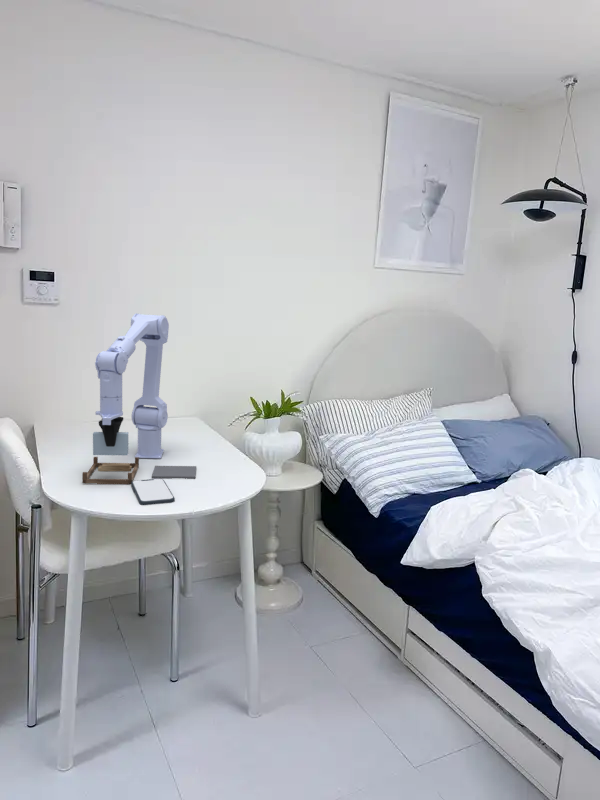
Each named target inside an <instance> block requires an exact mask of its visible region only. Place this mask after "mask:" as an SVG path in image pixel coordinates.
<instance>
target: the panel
mask: <svg viewBox="0 0 600 800" xmlns="http://www.w3.org/2000/svg"><path fill="white" fill-rule="evenodd" d="M128 455H129V432H128V431H125V432H123V431H119V432H117V436H116V443H115V446H114V447H107V446H106V443H105V439H104V435H103V432H102V431H94V432H93V433H92V456H128Z"/></svg>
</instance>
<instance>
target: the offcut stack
mask: <svg viewBox="0 0 600 800" xmlns="http://www.w3.org/2000/svg"><path fill="white" fill-rule="evenodd" d="M102 463H103V464H102V466H99V467H98V468H97V471H98V472H132V470H133V468H132V466H130V463H131V462H102Z"/></svg>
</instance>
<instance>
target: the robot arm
mask: <svg viewBox="0 0 600 800" xmlns="http://www.w3.org/2000/svg"><path fill="white" fill-rule="evenodd" d="M169 328H170V325H169V320H168V318H167V317H166V316H165V315H164V314H160V315H158V314H157V315H156V314H142V313H134V314H133V315H132V317H131V319H130V327H129V329H128V330H127V332H126V333H125V335H119V336H118V337H117V338H116V339H115V340H114V341H113V343H112V344H111V345H110V346H108V349H107V350H102V351H101V352H98V353H97V355H96V357H95V362H94V365H95V366H94V367H95V370H96V371H97V378H98V379H99V410H96V411H95V415H96V416H100V418H101V419H100V420H98V426H99V427H100V429H101V432H103V435H104V439H105V443H106V446H107V447H114V446H115V443H116V436H117V432H120V428H121V425H122V423H123V421H124V417H122V416H123V415H124V412H123V374H124V373H125V371H126V369H127V364H128V363H129V358H130V357H131V356H132V355H133V354H134V353H135V351H136V344H137V343H138V342H139V341H141V342H142V343H144V345H145V358H144V368H143V369H144V370H143V383H142V393H141V394H142V395H141V397H139V398H138V399H136V400H135V401H134V403H133V409H132V411H131V421H132V424H133V425H134V426H135V429H137V451H136V453H135V455H134V458H135V457H139V459H162V457H163V453H164V451H165V450H164V448H162V429H163V428H165V426H166V425H167V423H168V418H169V417H168V416H169V415H168V406H167V405H168V404H167V403H166V402H165V401H164V400H163V399H162V398H161V397H160V387H161V385H160V384H161V373H162V371H161V370H162V360H163V359H162V358H163V349H164V344H166V343H167V342H168V339H169V330H170V329H169Z"/></svg>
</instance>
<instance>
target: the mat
mask: <svg viewBox="0 0 600 800" xmlns="http://www.w3.org/2000/svg"><path fill="white" fill-rule="evenodd" d="M196 477H197V465H154V468H153V471H152V474H151V479H172V478H185V480H186V478H187V480H188V479H193V480H194V479H196Z"/></svg>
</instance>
